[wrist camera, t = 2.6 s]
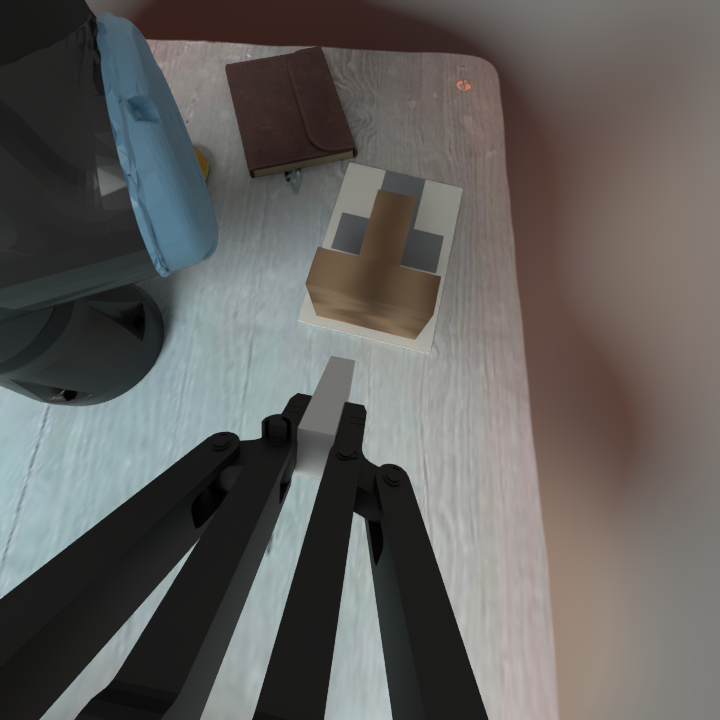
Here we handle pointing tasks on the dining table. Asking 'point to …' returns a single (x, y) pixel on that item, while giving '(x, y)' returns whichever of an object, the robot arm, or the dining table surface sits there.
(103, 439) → the dining table surface
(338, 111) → the notebook
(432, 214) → the mat
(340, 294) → the t block
